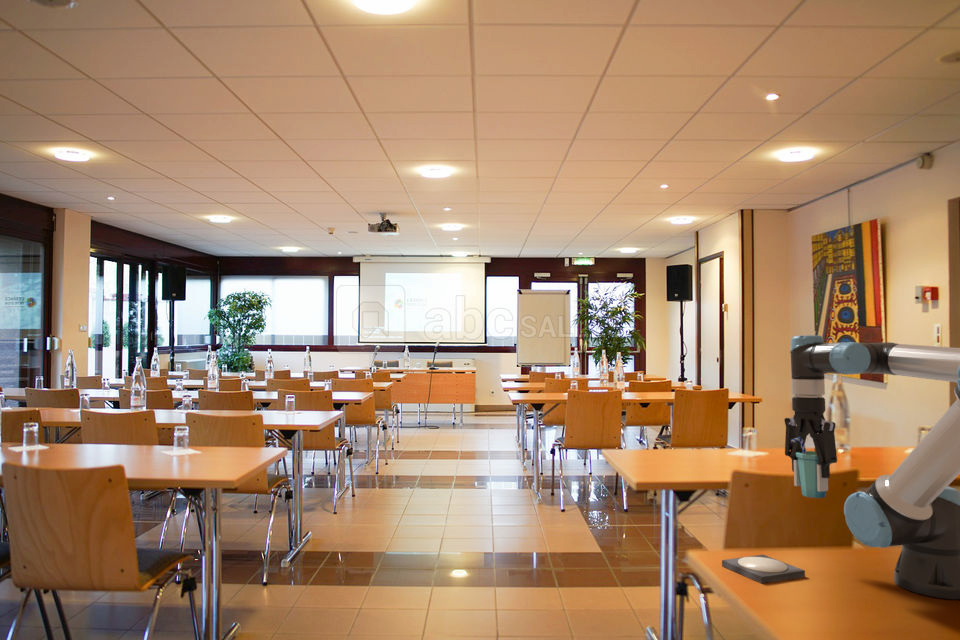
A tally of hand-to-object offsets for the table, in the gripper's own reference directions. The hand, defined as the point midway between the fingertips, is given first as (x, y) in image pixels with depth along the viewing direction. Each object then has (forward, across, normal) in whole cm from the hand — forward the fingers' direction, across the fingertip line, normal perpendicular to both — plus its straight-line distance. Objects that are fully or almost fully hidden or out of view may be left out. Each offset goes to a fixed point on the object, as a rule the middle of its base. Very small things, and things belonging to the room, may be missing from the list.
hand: (810, 488), depth 163 cm
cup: (+2, 0, 0) cm, 2 cm away
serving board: (+19, 0, +16) cm, 25 cm away
